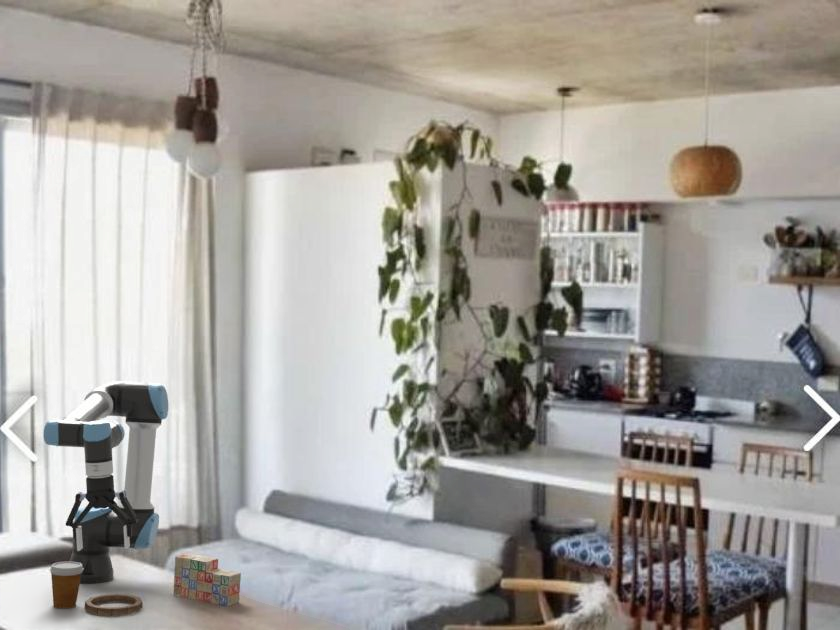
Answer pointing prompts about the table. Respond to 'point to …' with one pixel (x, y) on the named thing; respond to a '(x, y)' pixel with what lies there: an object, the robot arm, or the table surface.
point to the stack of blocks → (205, 580)
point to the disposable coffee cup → (65, 583)
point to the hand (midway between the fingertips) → (103, 548)
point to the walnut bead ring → (113, 611)
